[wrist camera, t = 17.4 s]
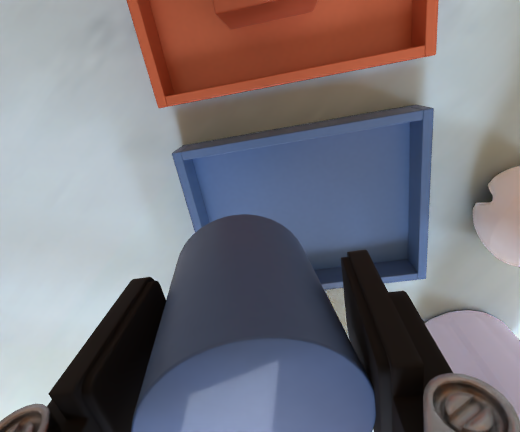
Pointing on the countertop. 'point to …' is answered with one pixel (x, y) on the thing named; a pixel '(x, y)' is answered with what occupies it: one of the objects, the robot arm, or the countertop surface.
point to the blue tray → (326, 187)
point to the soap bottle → (480, 350)
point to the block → (259, 10)
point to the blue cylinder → (251, 341)
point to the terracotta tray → (274, 44)
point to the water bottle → (501, 217)
